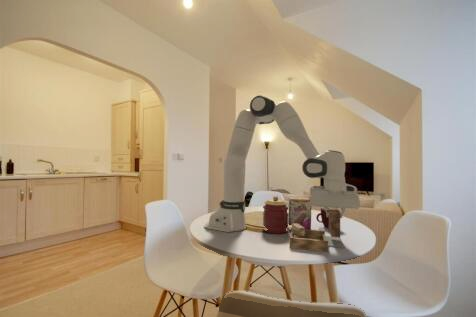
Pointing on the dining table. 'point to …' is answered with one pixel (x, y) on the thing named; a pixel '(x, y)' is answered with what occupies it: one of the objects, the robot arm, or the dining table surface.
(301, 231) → the offcut top
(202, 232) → the dining table surface
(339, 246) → the felt pad
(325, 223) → the mug
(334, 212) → the tall brown cardboard box
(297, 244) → the rack
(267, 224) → the canister
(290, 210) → the candy bar box
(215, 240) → the dining table surface
